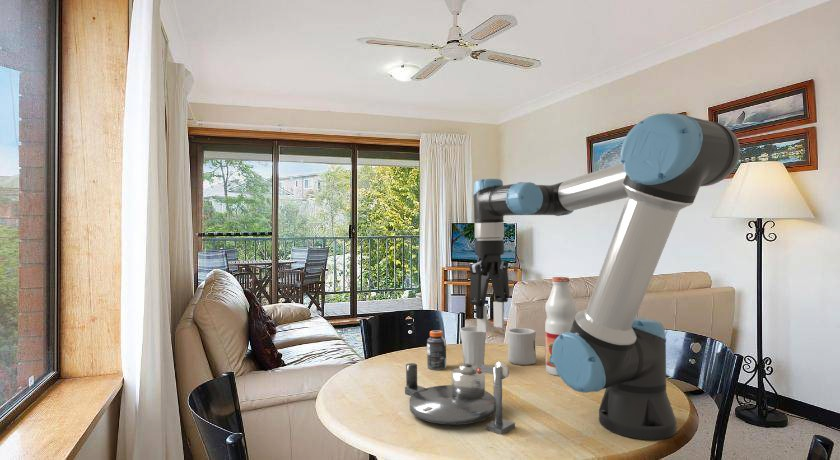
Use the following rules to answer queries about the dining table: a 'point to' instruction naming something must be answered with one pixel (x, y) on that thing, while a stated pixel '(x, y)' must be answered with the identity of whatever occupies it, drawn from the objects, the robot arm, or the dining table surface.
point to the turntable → (445, 402)
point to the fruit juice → (558, 317)
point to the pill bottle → (436, 350)
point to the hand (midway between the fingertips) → (490, 328)
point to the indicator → (498, 397)
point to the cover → (468, 381)
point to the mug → (522, 346)
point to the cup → (473, 345)
